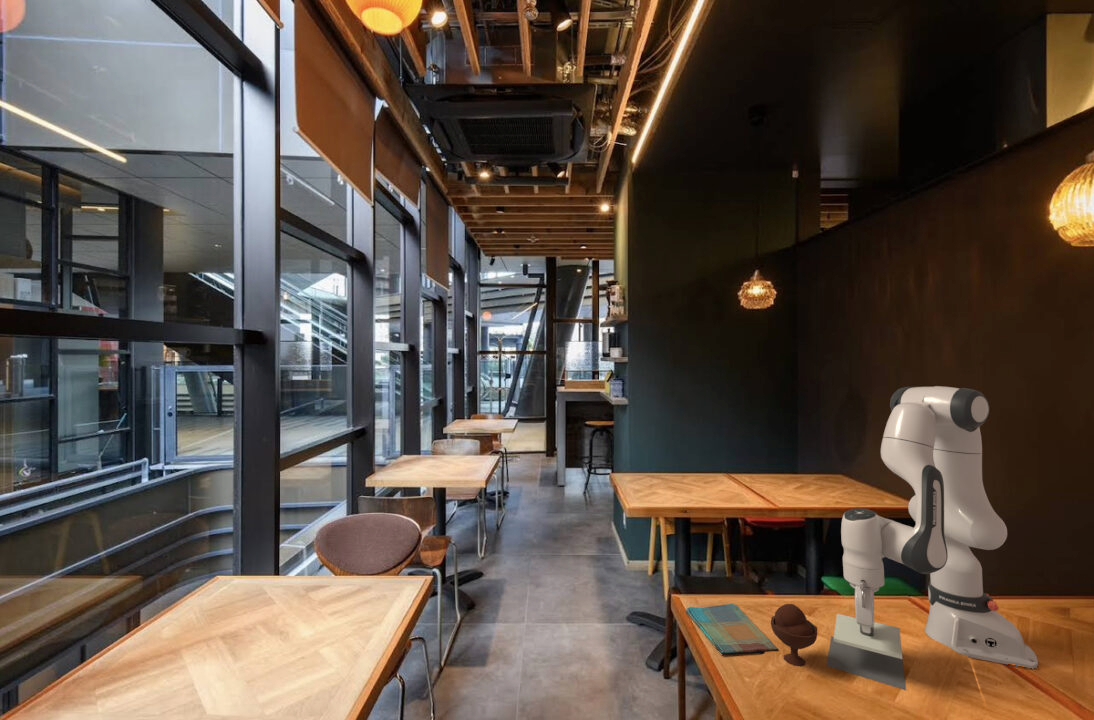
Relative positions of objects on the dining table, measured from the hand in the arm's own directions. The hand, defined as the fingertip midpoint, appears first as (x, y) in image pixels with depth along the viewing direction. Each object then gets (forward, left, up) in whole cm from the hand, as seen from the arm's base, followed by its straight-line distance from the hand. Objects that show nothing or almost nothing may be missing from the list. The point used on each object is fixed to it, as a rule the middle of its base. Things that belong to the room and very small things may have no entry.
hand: (866, 627), depth 120 cm
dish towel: (+33, +5, -10) cm, 35 cm away
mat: (+1, +1, -9) cm, 9 cm away
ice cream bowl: (+16, +11, -9) cm, 21 cm away
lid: (0, 0, -2) cm, 2 cm away
